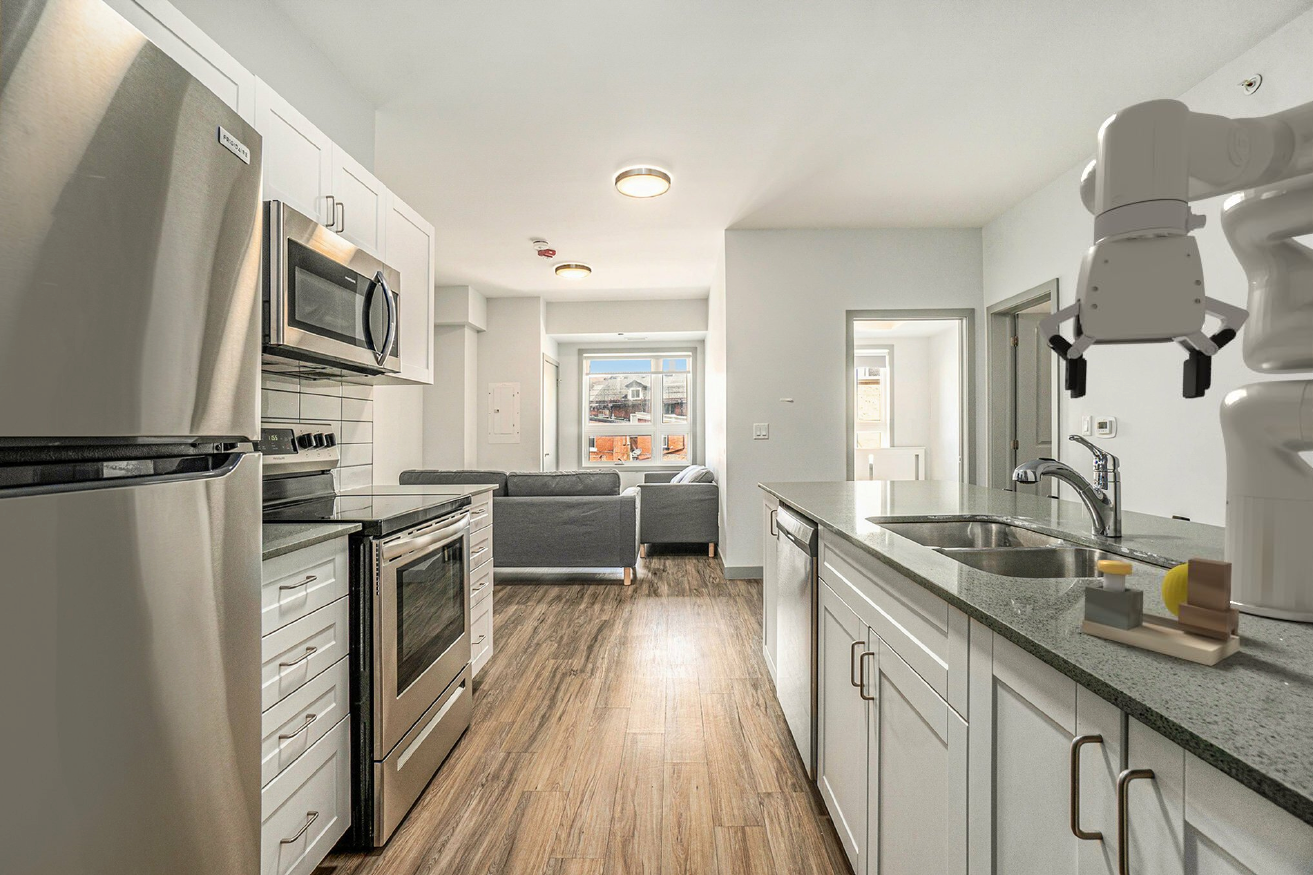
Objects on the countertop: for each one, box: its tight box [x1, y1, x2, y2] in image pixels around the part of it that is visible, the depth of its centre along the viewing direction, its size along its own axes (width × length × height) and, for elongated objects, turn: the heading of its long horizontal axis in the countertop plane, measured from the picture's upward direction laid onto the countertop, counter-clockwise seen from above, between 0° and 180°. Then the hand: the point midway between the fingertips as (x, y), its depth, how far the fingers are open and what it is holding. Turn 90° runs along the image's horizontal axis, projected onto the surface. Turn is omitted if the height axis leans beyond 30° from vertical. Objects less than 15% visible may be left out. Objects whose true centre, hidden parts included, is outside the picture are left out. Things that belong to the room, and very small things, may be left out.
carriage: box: [1177, 557, 1240, 640], centre depth 65 cm, size 4×4×8 cm
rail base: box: [1081, 582, 1241, 667], centre depth 67 cm, size 9×12×6 cm
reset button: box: [1097, 559, 1133, 593], centre depth 69 cm, size 3×3×5 cm
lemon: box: [1161, 562, 1188, 618], centre depth 73 cm, size 6×6×8 cm
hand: (1133, 397), depth 61 cm, fingers open, 9 cm apart
